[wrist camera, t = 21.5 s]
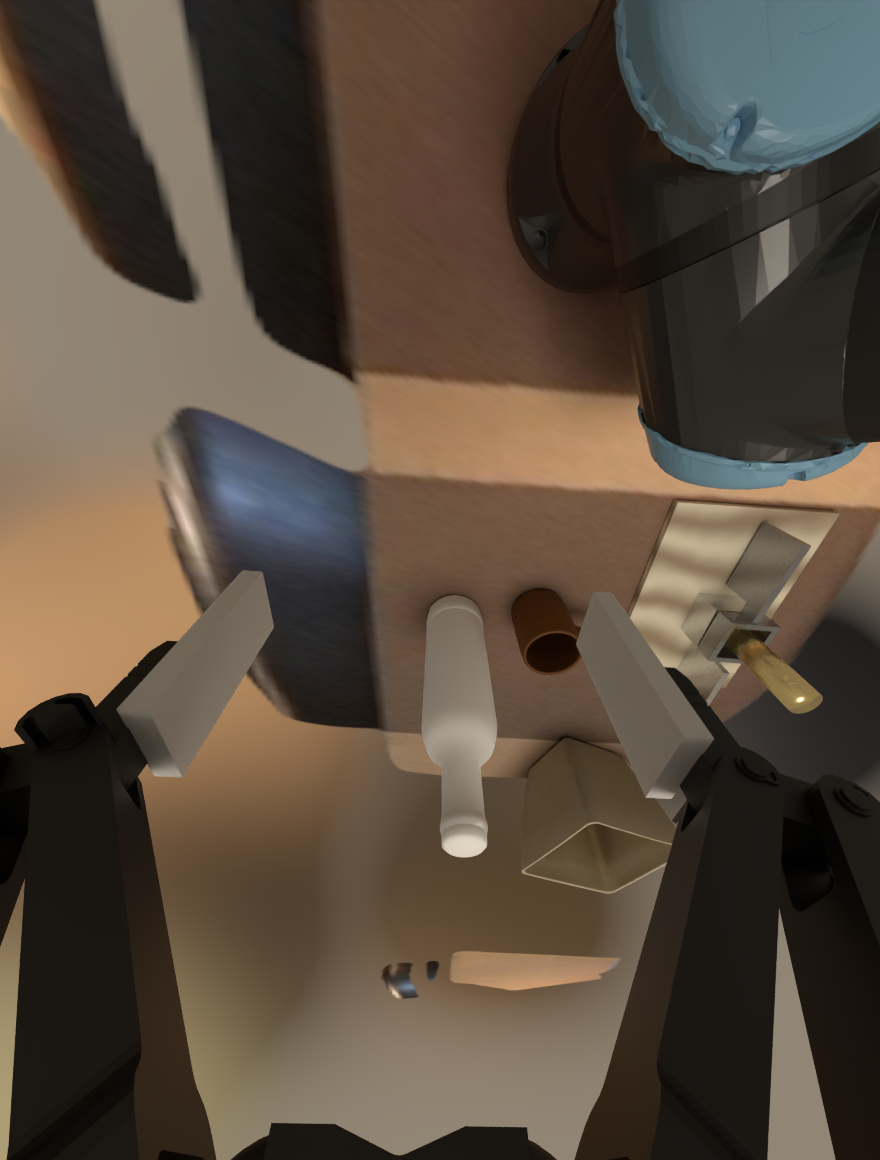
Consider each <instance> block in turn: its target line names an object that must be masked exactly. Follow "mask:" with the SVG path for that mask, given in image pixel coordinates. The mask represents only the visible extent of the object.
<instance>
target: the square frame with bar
mask: <svg viewBox="0 0 880 1160" xmlns="http://www.w3.org/2000/svg"><path fill="white" fill-rule="evenodd" d="M810 548H811V545H809V544H807V543H805V542H803V541H801V540H800V539H798V538H796V537H794V536H792V535H790V534H788V533H786V532H784V531H783V530H781V529H779V528H777V527H775V526H773V525H771V524H769V523H762V525H761V526H760V528H759V530H758V532H757V533H756V535H755V537H754V538H753V540H752V542H751V543H750V545H749V547H748V549H747V550H746V552H745V554H744V555H743V557H742V559H741V560H740V562H739V564H738V566H737V567H736V569H735V571H734V572H733V574H732V576H731V577H730V579H729V581H728V582H727V584H726V585H727V586H728V587H729V588H730V589H731V590H733V591H734V592H735V593H736V594H738V595H739V596H740V597H741V598H742V599H744V600H745V601H746V604H745V605H744V607H743V608H742V610H741V612H740V613H734V612H723V611H719V612H718V614H717V616H716V617H715V619H714V621H713V622H712V624H711V626H710V627H709V629H708V631H707V632H706V634H705V636H704V637H703V639H702V641H701V642H700V644H699V646H698V647H697V649H698V650H699V651H700V652H701V653H702V654H703V656H704V657H705V658H706V659H707V660H708V661H714V662H727V663H739V664H744V663H743V662H742V661H741V660H740V659H739V658H738V657H737V656H736V655H735V654H734V653H733V652H732V651H731V650H730V649H729V648H728V647H727V646H724V644H725V643H726V641H727V640H728V638H729V637H730V635H731V633H732V632H733V630H734V629H735V628H736V629H748V630H750V631H751V632H752V633H753V634H754V635H755V636H756V637H758V638H759V639H760V640H761V641H762V642H763V643H764V644H765V645H766V646H768V645H769V643H770V642H771V640H772V639H773V638H774V636H775V635H776V634H777V632H778V631H779V629H780V628H781V627H780V626H778V625H777V624H776V623H775V622H773V621H772V620H771V619H770V618H769V617H767V616H766V615H765V613H766V612H767V610H768V609H769V607H770V606H771V605H772V603H773V602H774V600H775V599H776V597H777V596H778V594H779V593H780V591H781V590H782V589H783V587H784V586H785V584H786V583H787V581H788V580H789V578H790V577H791V575H792V574H793V573H794V571H795V570H796V568H797V567H798V565H799V564H800V562H801V561H802V559H803V558H804V556H805V555H806V554H807V552H808V551H809V549H810Z"/></svg>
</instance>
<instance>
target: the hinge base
mask: <svg viewBox="0 0 880 1160" xmlns="http://www.w3.org/2000/svg"><path fill="white" fill-rule="evenodd" d="M745 604H746V601H745V600H744V599H742V598H741V597H740V596H738V595H721V594H705V593H698V595H697V597H696V599H695V601H694V603H693V605H692V607H691V609H690V611H689V613H688V615H687V616H686V618H685V620H684V622H683V624H682V626H681V628H680V629H681V630H682V631H683V632H684V633H685V635H686V636H687V637H688V638H689V639H690V641H691V644H690V646H689V648H688V650H687V652H686V653H685V655H684V657H683V659H682V661H681V663H680V664H679V666H678V668H677V670H679V671H680V672H681V673H682V674H683V675H685V676H686V677H687V678H688V679H690V681H691V682H692V683H693V685H694V686H695V687H696V689H697V690H698V691H699V694H700V695H702V697H703V698H704V699H705V701H706V702H707V703H708V704H707V705H708V706H709V705H710V703H711V701H712V700H713V698H714V697H715V695H716V694H717V692H718V691H719V689H720V688H721V686H722V685H723V683H724V682H725V680H726V678H727V677H728V675H729V674H730V673H729V672H728V671H727V670H726V669H725V668H724V667H723V666H722V664H721V663H720V662H714V661H708V660H707V659H706V658H705V657H704V656H703V654H702V653H701V652H700V651H699V650H698V649H697V647H698V646H699V644H700V642H701V641H702V639H703V637H704V636H705V634H706V632H707V631H708V629H709V627H710V626H711V624H712V622H713V621H714V619H715V617H716V616H717V614H718V612H719V611H723V612H734V613H740V612H741V610H742V608H743V607H744V605H745ZM724 646H726V645H725V644H724Z"/></svg>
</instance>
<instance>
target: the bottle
mask: <svg viewBox="0 0 880 1160" xmlns="http://www.w3.org/2000/svg"><path fill="white" fill-rule="evenodd" d="M422 737H423V741H424V745H425V747H426V750H427V753H428V755H429V756H430V758H431V759H432V761H433V762H435V763H436V764H437V765H439V766H440V767H441V768H442V819H441V822H440V833H441V836H442V847H443V849H444V850H445V851H446V852H447V853H449V854H450V855H453V856H457V857H472V856H476V855H478V854H480V853H482V851H483V850H484V849H485V848H486V847H487V830H488V827H487V821H486V819H485V813H484V802H483V791H482V781H481V769H480V767H481V766H482V765H483V764H484V763H485V762H487V761H488V760H489V758H490V757H491V755H492V754H493V750H494V746H495V742H496V737H497V721H496V714H495V707H494V701H493V694H492V687H491V680H490V673H489V666H488V659H487V652H486V646H485V639H484V632H483V620H482V617H481V612H480V610H479V608H478V606H477V605H476V604H475V603H474V602H473V601H472V600H471V599H469V598H467V597H464V596H458V595H451V596H445V597H443V598H441V599H439V600H437V601H436V602H435V603H434V604H433V605H432V606H431V607H430V610H429V612H428V618H427V639H426V657H425V675H424V693H423V711H422Z"/></svg>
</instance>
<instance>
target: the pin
mask: <svg viewBox="0 0 880 1160" xmlns="http://www.w3.org/2000/svg"><path fill="white" fill-rule="evenodd" d="M725 645H726V646H727V647H728V648H729V649H730V650H731V651H732V652H733V653H734V654H735V655H736V656H737V657H738V658H739V659H740V660H741V661H742V662H743V663H744V664H745V665H746V666H747V667H748V668H749V669H750V670H751V671H752V672H753V673H754V675H755V676H756V677H757V678H758V679H759V680H760V681H761V682H762V683H763V684H764V685H765V686H766V687H767V688H768V689H769V690H770V691H771V692H772V693H773V694H774V695H775V696H776V697H777V698H778V699H779V700H780V701H781V702H782V703H783V704H784V705H785V706H786V707H787V709H788V710H789V711H791V712H793V713H805V712H808V711H811V710H813V709H814V708H816V707H817V706H819V704H820V703H821V702H822V700H823V697H822V695H821V694H819V693H818V692H817V691H816V690H815V689H814V688H813V687H812V686H811V685H810V684H808V683H807V682H806V681H805V680H804V679H803V678H802V677H801V676H800V675H799V674H797V673H796V672H795V671H794V670H793V669H792V668H791V667H790V666H789V665H787V664H786V663H785V662H784V661H783V660H782V659H781V658H780V657H779V656H778V655H776V654H775V653H774V652H773V651H772V650H771V649H770V648H769V647H768V646H766V645H765V644H764V643H763V642H762V641H761V640H760V639H759V638H758V637H756V636H755V635H754V634H753V633H752V632H751V631H750V630H748V629H736V628H735V629H734V630H733V632H732V633H731V635H730V637H729V638H728V640H727V641H726V643H725Z"/></svg>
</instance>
